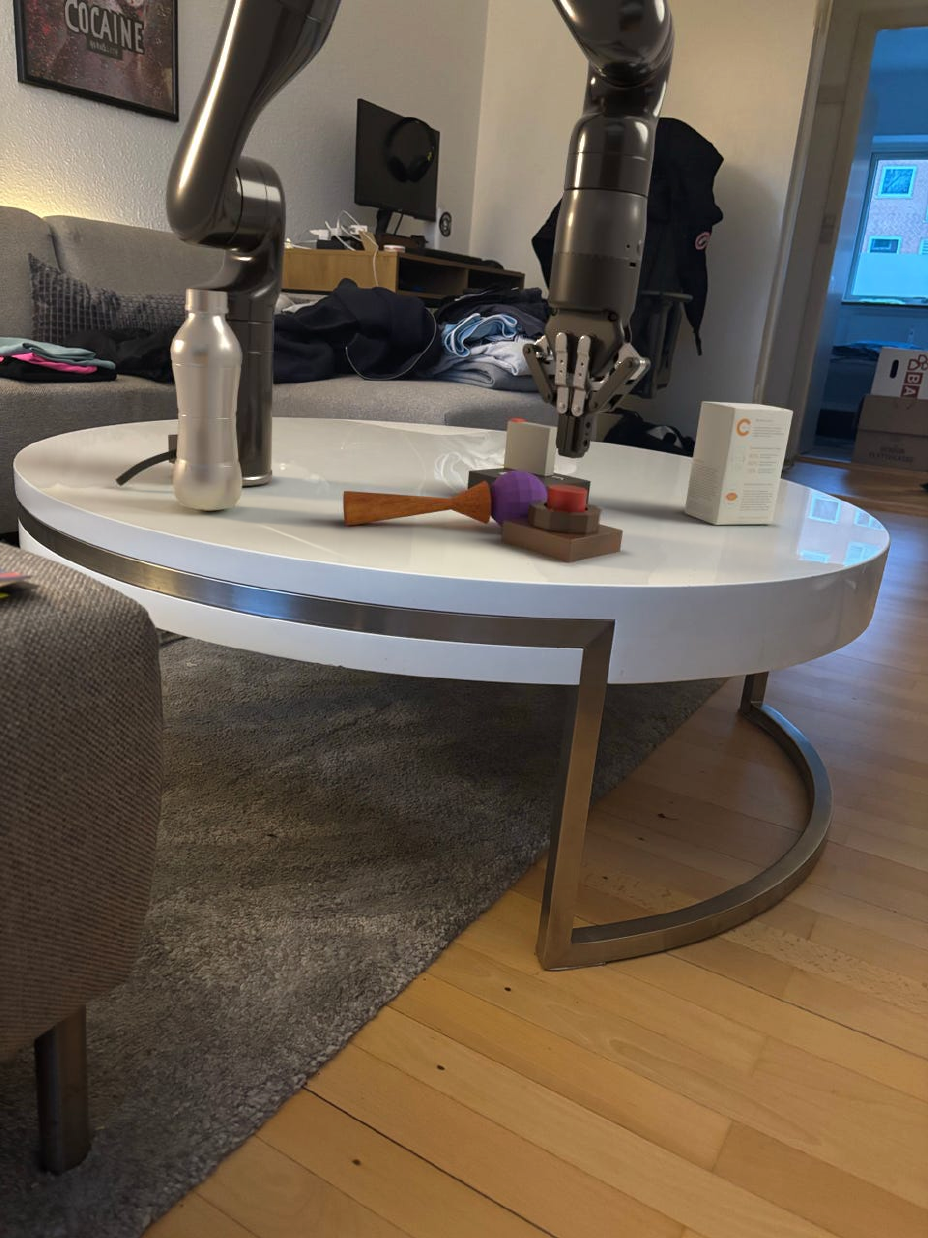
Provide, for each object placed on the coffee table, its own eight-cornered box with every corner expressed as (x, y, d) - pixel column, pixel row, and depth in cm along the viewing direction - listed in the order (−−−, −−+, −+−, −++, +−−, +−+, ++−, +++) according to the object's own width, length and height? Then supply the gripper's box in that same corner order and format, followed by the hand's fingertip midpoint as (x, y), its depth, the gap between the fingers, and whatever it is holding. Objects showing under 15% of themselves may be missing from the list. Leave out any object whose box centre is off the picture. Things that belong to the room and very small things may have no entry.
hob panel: (532, 514, 99) (535, 485, 98) (453, 493, 107) (455, 466, 106) (598, 504, 108) (601, 478, 107) (520, 485, 115) (523, 460, 114)
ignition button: (568, 515, 82) (571, 493, 82) (538, 507, 85) (540, 485, 84) (592, 512, 85) (595, 490, 84) (562, 504, 87) (564, 483, 87)
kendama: (340, 476, 89) (536, 469, 93) (343, 538, 90) (537, 528, 94) (346, 476, 83) (555, 469, 88) (350, 542, 84) (556, 531, 89)
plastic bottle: (251, 505, 92) (253, 294, 85) (228, 520, 85) (229, 292, 79) (188, 499, 92) (186, 288, 85) (161, 512, 86) (156, 286, 79)
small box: (738, 513, 111) (758, 403, 106) (772, 525, 105) (795, 410, 101) (682, 512, 108) (700, 399, 103) (714, 525, 102) (735, 406, 98)
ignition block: (568, 564, 81) (573, 519, 79) (500, 543, 86) (505, 501, 84) (620, 552, 86) (626, 511, 85) (553, 534, 91) (558, 494, 90)
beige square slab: (553, 475, 107) (559, 425, 105) (544, 476, 105) (550, 425, 103) (512, 466, 110) (517, 418, 108) (503, 467, 109) (508, 418, 107)
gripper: (510, 245, 79) (490, 446, 85) (638, 251, 71) (606, 472, 77) (563, 254, 85) (541, 442, 90) (688, 260, 76) (654, 467, 82)
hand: (571, 456), depth 83 cm, fingers closed
